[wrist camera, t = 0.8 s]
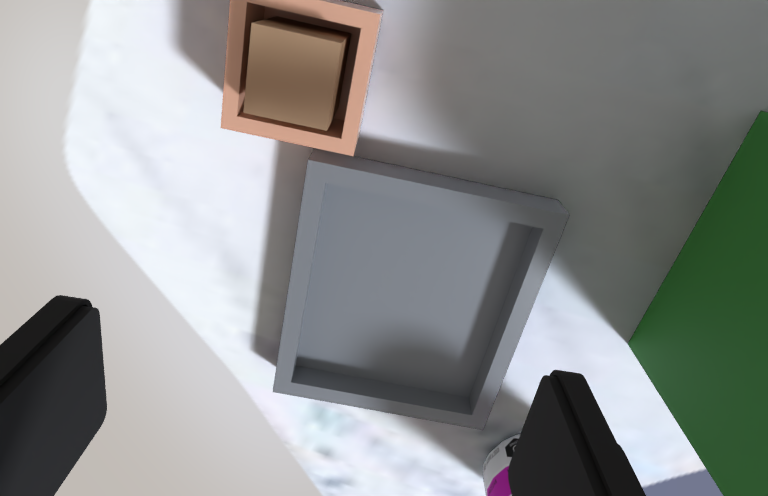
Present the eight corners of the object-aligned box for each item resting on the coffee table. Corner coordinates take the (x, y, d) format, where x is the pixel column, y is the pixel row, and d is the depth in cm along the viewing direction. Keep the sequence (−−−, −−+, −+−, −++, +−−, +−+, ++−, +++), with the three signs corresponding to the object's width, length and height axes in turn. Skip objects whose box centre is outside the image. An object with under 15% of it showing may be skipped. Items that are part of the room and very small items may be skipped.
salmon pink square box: (255, -20, 29) (231, -21, 25) (383, 10, 30) (380, 14, 26) (243, 109, 32) (220, 127, 28) (359, 135, 33) (353, 156, 29)
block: (277, 16, 29) (251, 22, 24) (351, 33, 30) (341, 43, 25) (268, 91, 31) (243, 112, 26) (338, 107, 32) (326, 130, 27)
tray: (314, 148, 33) (308, 159, 31) (558, 200, 34) (569, 215, 32) (279, 369, 41) (272, 391, 39) (478, 406, 42) (483, 429, 40)
